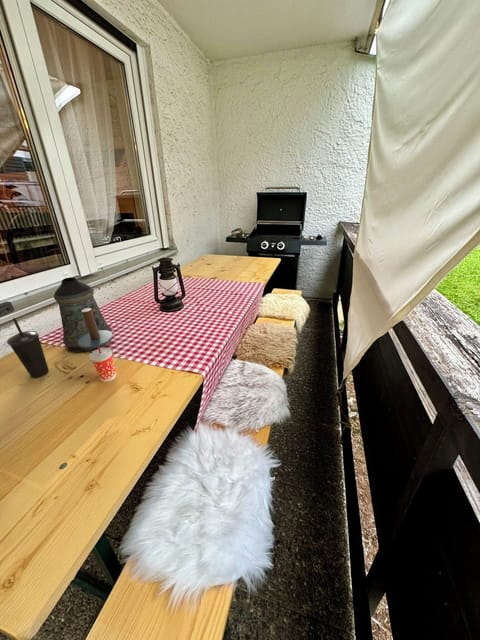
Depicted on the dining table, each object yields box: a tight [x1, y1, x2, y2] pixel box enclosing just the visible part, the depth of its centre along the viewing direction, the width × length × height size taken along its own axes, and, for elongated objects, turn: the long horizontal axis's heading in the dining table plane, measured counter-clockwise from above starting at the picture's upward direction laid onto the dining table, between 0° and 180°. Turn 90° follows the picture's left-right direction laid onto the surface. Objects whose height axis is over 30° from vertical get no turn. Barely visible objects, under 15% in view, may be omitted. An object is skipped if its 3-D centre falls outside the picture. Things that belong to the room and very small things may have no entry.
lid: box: [78, 308, 114, 348], centre depth 73 cm, size 9×9×10 cm
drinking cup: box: [6, 317, 50, 379], centre depth 79 cm, size 8×8×20 cm
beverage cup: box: [88, 347, 117, 383], centre depth 78 cm, size 6×6×14 cm
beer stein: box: [53, 276, 113, 354], centre depth 95 cm, size 16×19×25 cm
